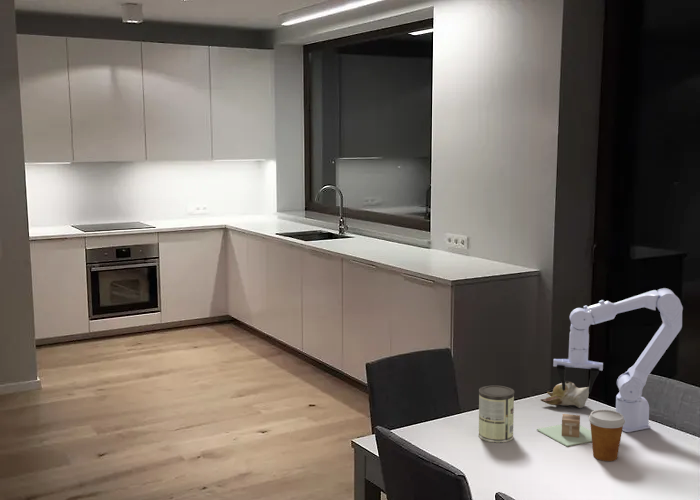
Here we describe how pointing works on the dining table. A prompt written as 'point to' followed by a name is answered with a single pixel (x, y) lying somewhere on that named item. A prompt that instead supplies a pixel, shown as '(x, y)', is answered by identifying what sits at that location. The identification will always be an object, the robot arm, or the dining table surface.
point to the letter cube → (570, 425)
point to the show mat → (556, 434)
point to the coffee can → (496, 413)
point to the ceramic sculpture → (568, 395)
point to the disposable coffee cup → (606, 433)
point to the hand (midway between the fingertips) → (576, 390)
